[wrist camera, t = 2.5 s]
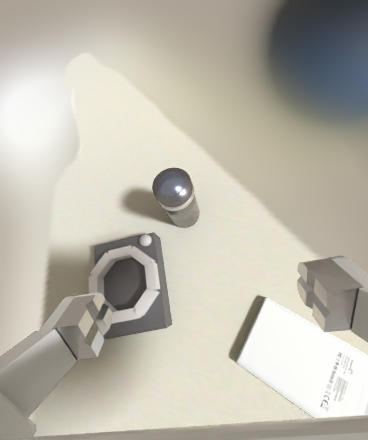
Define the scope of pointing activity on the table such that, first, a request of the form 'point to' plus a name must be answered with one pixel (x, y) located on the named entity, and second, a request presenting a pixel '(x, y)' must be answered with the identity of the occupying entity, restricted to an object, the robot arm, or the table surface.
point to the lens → (176, 196)
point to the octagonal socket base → (132, 285)
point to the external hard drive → (305, 363)
